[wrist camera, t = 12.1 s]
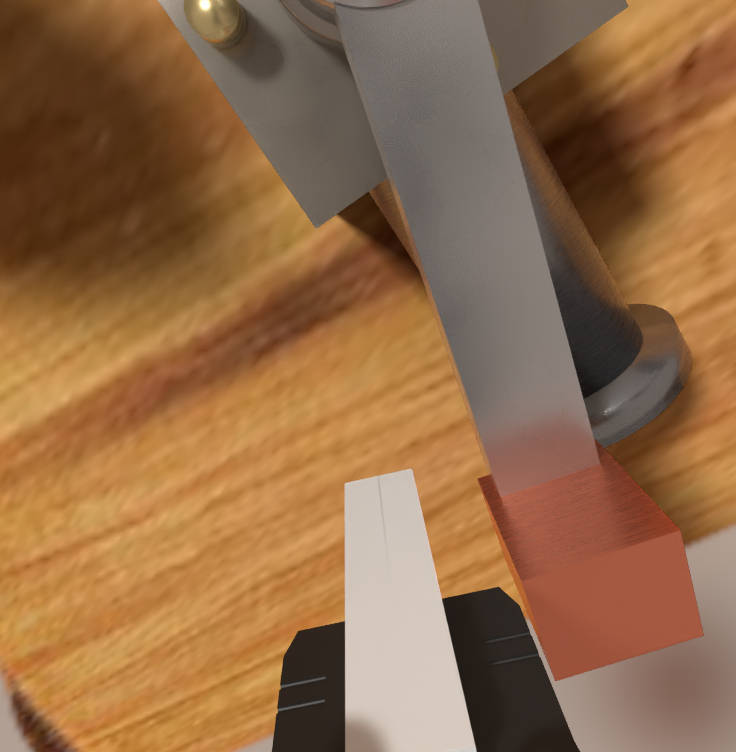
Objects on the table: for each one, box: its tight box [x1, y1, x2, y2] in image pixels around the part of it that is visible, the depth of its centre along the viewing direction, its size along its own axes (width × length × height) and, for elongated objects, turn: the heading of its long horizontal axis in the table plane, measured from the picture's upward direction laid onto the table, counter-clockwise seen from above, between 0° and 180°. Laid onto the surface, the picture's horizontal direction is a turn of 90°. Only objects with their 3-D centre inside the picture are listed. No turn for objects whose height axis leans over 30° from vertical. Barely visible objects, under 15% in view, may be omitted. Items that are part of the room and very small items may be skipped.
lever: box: [298, 0, 704, 681], centre depth 10 cm, size 15×4×4 cm, turn 20°
